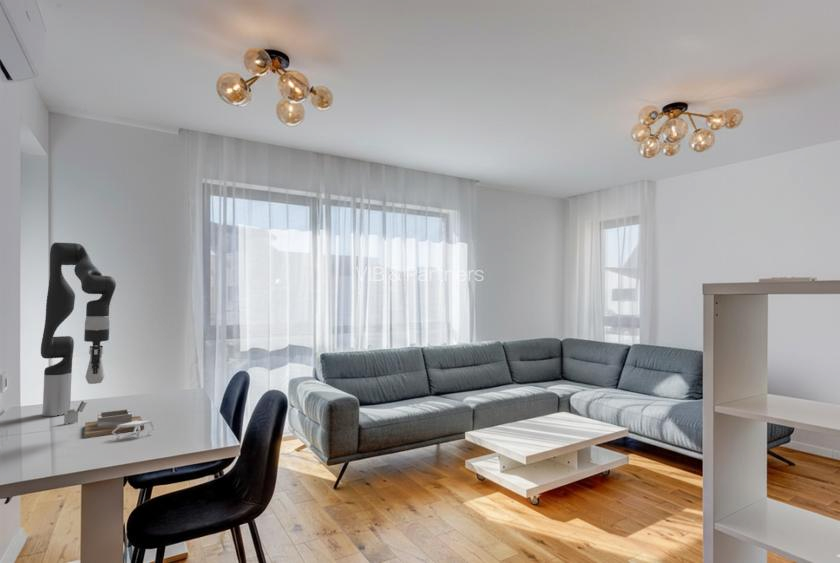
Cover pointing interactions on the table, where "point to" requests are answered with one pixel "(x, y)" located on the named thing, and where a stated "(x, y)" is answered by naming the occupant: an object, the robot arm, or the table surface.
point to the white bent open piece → (136, 424)
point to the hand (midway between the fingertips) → (95, 374)
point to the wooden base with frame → (111, 423)
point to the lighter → (73, 413)
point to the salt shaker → (92, 377)
